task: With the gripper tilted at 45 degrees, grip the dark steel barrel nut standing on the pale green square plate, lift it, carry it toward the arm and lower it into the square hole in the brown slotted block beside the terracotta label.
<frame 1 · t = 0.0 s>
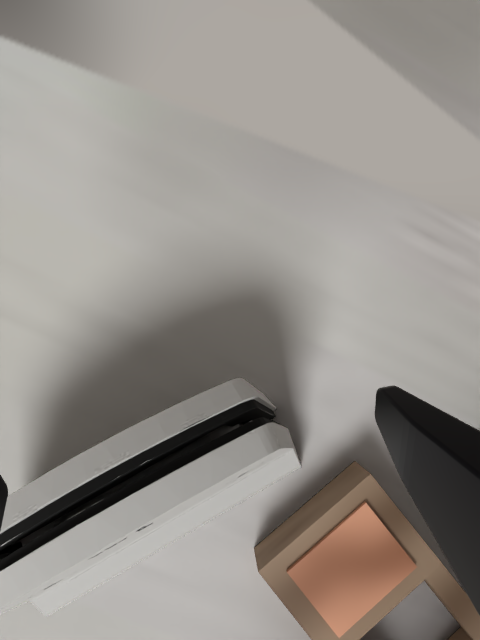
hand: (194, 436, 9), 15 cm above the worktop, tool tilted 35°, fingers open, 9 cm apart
white game console: (155, 474, 24), on the worktop
brown slotted block: (388, 608, 24), on the worktop
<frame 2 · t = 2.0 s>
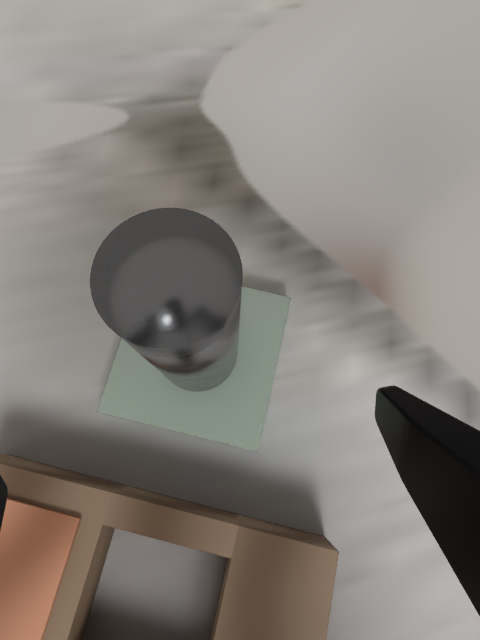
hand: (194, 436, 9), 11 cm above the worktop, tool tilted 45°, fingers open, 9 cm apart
pale green square plate: (199, 355, 21), on the worktop
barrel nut: (198, 351, 20), point 1 cm above the worktop, touching pale green square plate
brown slotted block: (136, 587, 18), on the worktop
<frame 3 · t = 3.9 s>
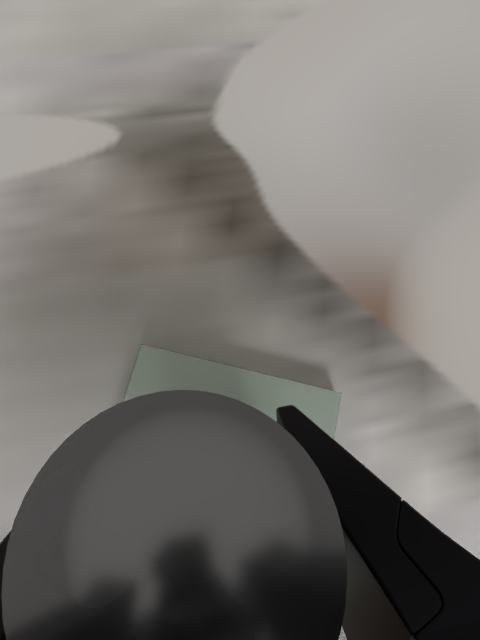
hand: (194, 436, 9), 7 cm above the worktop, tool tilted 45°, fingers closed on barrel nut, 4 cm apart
pale green square plate: (215, 472, 15), on the worktop
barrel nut: (214, 475, 14), point 1 cm above the worktop, touching gripper, pale green square plate
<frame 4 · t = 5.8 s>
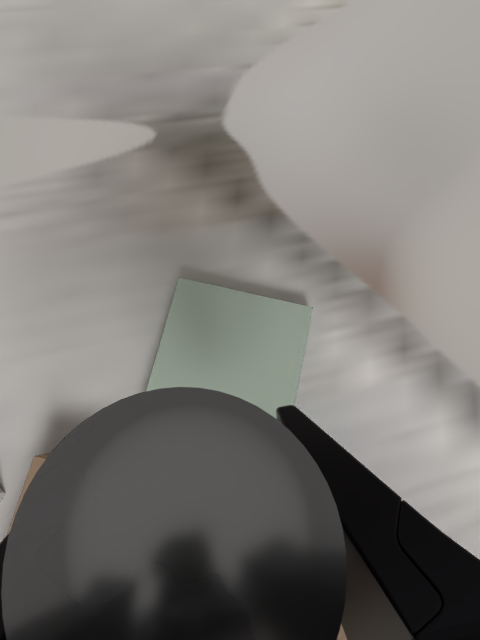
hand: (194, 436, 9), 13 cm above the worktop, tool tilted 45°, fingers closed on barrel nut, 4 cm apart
pale green square plate: (229, 361, 23), on the worktop
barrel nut: (214, 474, 14), point 8 cm above the worktop, touching gripper
brown slotted block: (179, 570, 20), on the worktop
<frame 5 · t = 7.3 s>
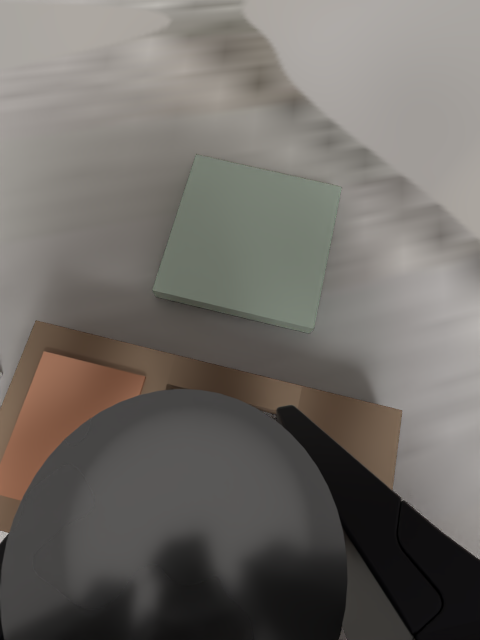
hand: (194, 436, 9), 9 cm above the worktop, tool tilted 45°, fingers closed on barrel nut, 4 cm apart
pale green square plate: (250, 245, 21), on the worktop
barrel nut: (214, 475, 14), point 4 cm above the worktop, touching gripper
brown slotted block: (195, 457, 18), on the worktop
when the fingers open (7 cm above the worktop, at t = 8.2 s): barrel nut drops 1 cm, resting in brown slotted block.
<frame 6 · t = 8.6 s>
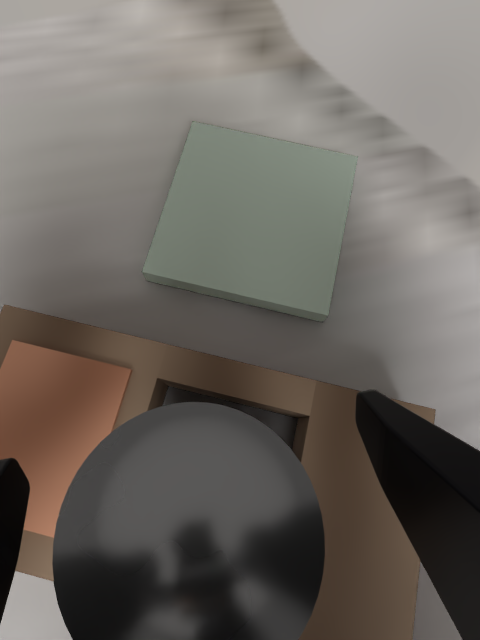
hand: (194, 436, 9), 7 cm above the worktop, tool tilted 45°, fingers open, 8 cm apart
pale green square plate: (254, 222, 18), on the worktop
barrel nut: (216, 473, 15), resting in brown slotted block
brown slotted block: (191, 465, 15), on the worktop
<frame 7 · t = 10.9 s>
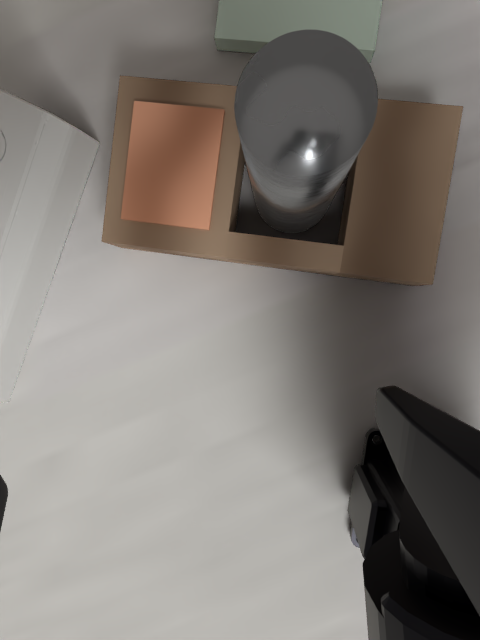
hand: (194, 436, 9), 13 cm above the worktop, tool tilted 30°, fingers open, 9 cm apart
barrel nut: (292, 195, 21), resting in brown slotted block
brown slotted block: (273, 191, 21), on the worktop
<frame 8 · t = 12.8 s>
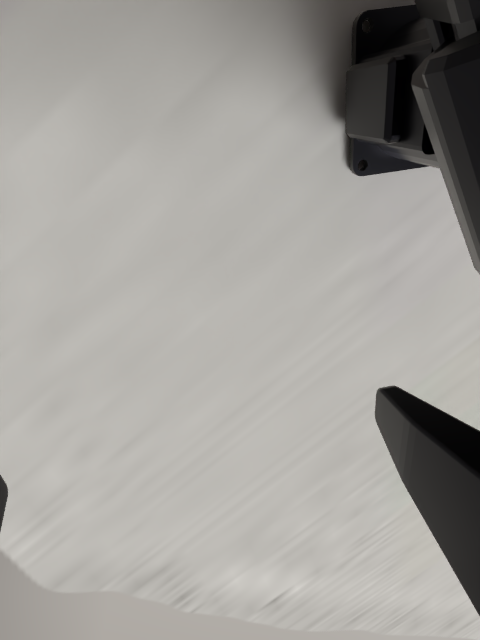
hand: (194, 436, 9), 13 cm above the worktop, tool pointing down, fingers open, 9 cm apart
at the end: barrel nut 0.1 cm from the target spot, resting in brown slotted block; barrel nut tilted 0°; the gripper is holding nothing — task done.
